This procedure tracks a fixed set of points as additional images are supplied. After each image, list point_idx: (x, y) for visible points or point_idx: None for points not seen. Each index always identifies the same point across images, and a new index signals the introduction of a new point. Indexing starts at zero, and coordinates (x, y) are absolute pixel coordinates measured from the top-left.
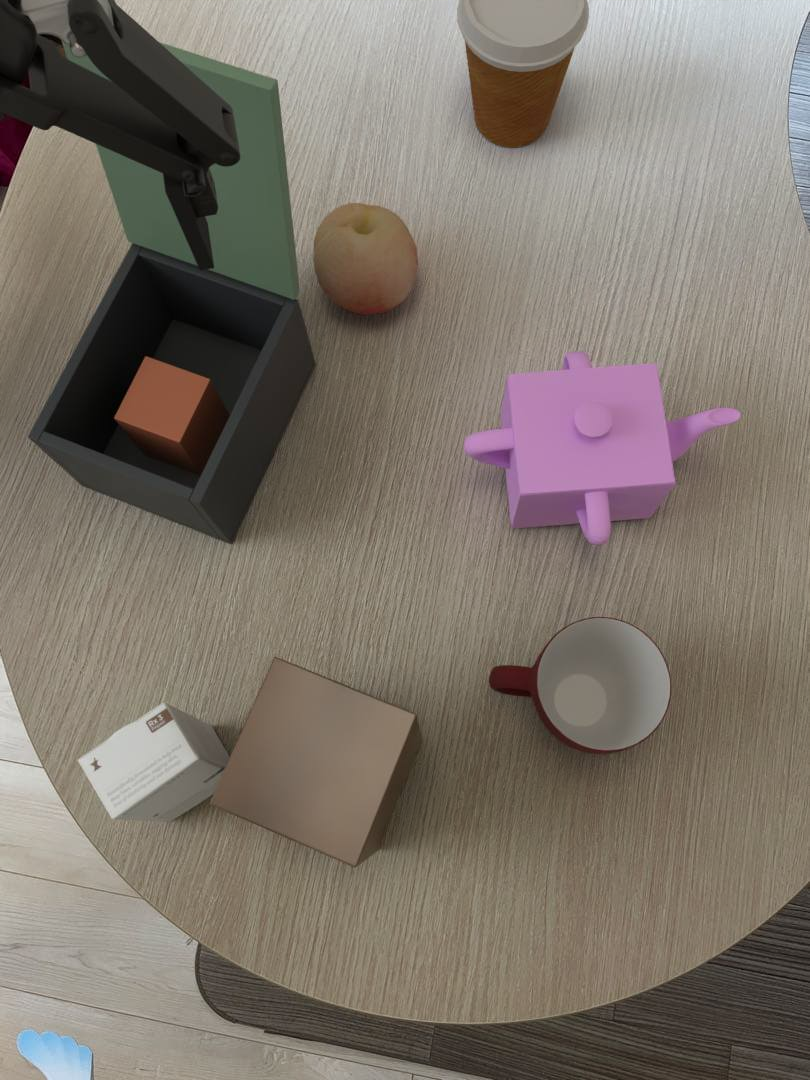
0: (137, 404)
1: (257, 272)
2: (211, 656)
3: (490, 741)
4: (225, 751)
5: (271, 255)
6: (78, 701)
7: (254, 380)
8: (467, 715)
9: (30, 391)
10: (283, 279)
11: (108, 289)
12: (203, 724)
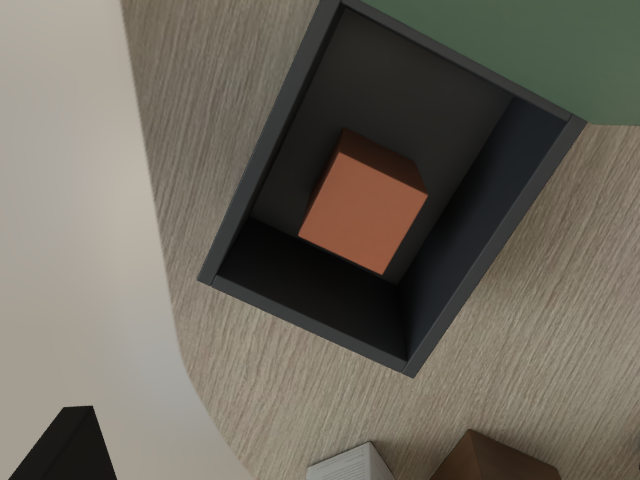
0: (328, 220)
1: (557, 95)
2: (373, 389)
3: (616, 476)
4: (384, 467)
5: (615, 110)
6: (251, 410)
7: (503, 235)
8: (602, 456)
9: (162, 92)
10: (602, 118)
11: (293, 66)
12: (374, 474)
